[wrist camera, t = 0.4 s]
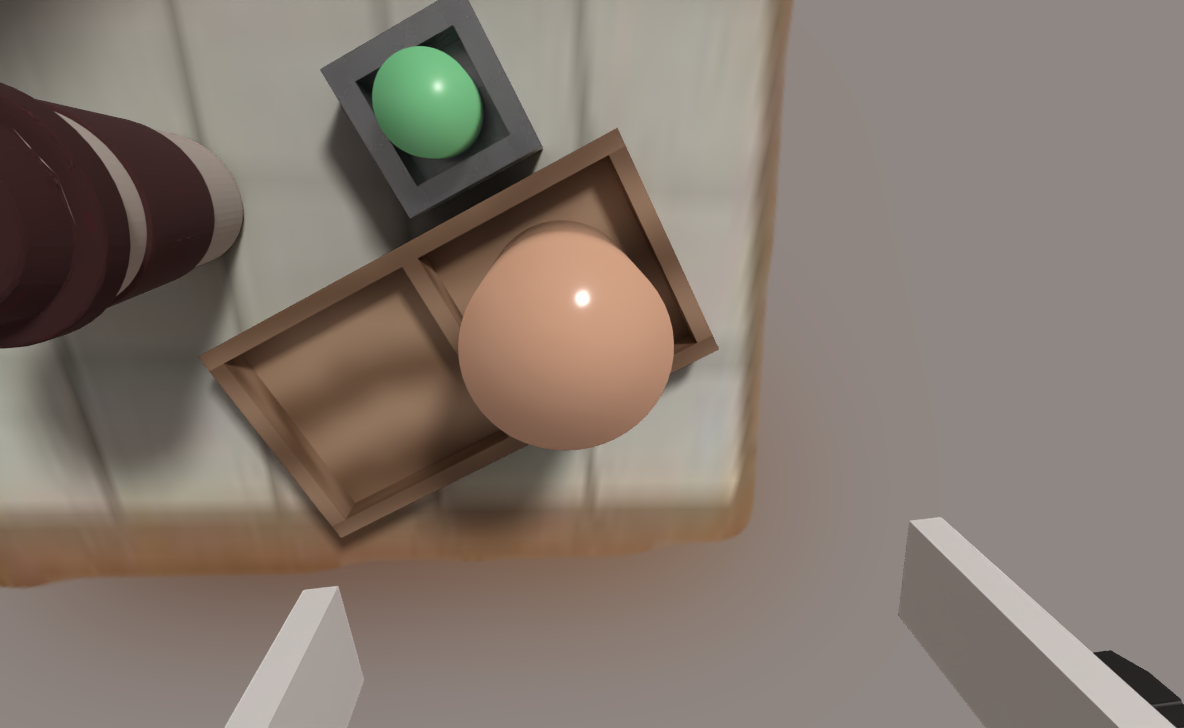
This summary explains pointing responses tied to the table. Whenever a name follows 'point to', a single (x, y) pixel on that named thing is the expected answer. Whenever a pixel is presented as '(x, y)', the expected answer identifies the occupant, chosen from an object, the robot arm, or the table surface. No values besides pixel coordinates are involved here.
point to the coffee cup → (98, 214)
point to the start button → (427, 103)
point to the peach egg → (565, 339)
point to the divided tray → (426, 343)
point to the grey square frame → (467, 43)
